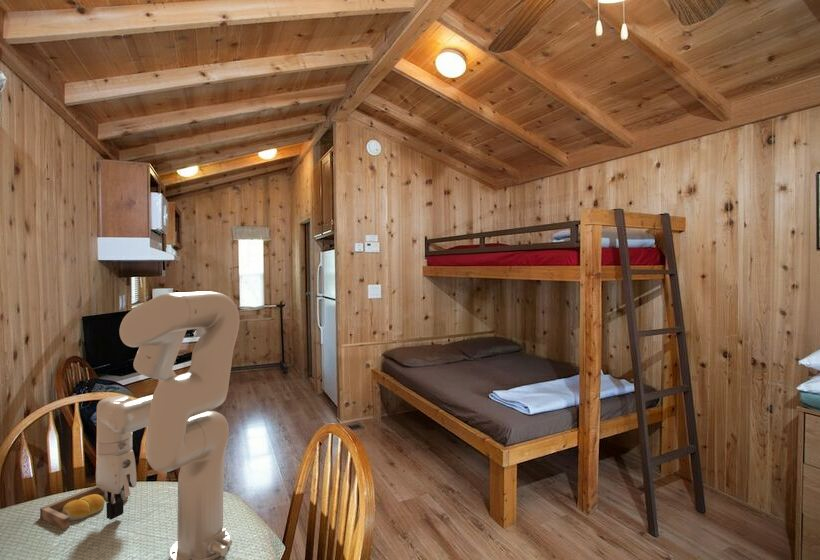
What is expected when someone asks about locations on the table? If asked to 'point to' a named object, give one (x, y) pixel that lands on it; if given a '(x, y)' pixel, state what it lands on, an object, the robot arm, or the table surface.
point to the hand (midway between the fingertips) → (115, 516)
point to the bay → (53, 510)
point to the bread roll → (83, 507)
